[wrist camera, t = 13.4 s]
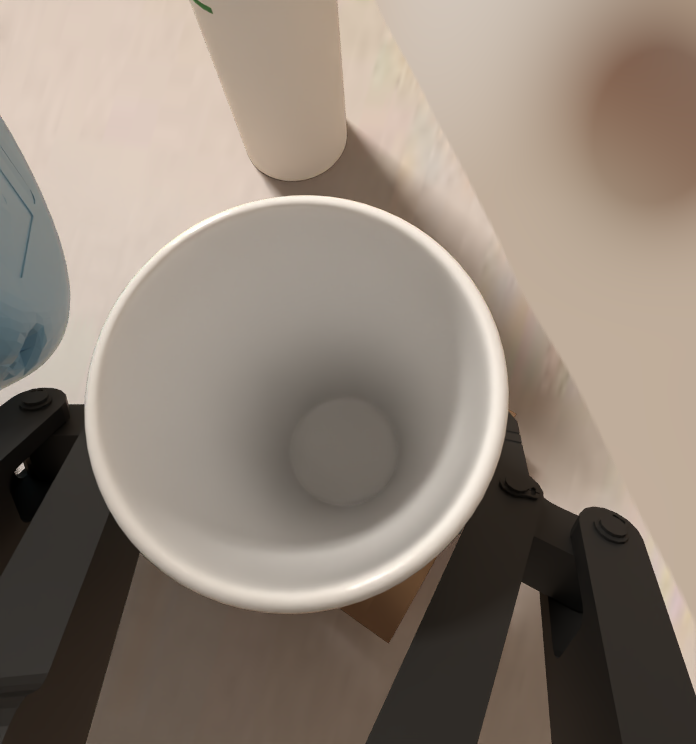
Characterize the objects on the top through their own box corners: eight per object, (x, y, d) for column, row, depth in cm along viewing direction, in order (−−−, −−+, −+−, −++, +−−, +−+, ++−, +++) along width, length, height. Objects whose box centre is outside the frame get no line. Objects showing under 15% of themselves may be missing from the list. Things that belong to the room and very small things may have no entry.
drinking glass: (290, 543, 20) (89, 678, 6) (264, 401, 22) (60, 236, 8) (434, 508, 20) (587, 559, 6) (397, 369, 22) (445, 146, 8)
